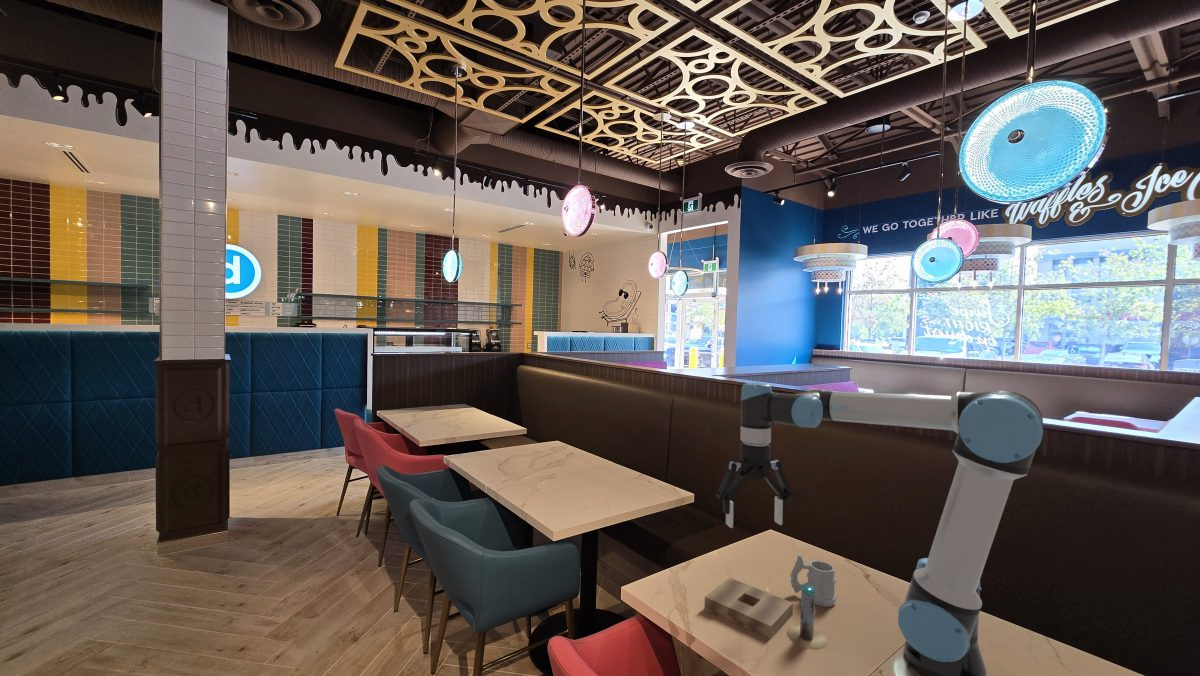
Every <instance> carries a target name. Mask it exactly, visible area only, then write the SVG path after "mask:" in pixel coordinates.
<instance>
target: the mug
mask: <svg viewBox="0 0 1200 676" xmlns="http://www.w3.org/2000/svg"><path fill="white" fill-rule="evenodd" d="M796 558H797V559H796V561H795V563H794V566H793V567H792V570H791V572H790V576H789V577H790V584H791V588H792V589H793V591H794V593H795V594H798V593H799V592H800V591H801V592H802V586H803V585H809V586H812V587H814V588H815V605H816V606H819V607H823V608H824V607H825V608H829V607H833V606H835V602H836V601H837V596H836V594H835V585H836V582H837V580H836V579H837V578H836V576H835V567H834V566H833V565H832V564H830V563H828V562H826V561H821V560H812V561H810V562H809V563H805V562H804V558H803V556H802V555H801V554H799V553H797V557H796ZM803 569H804V570H805V569H806V570H808V571H807V573H806V575H807V581H806V582H800V581H799V579H798V576H799V575H798V574H799V573H800V572H801V571H802V570H803Z"/></svg>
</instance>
